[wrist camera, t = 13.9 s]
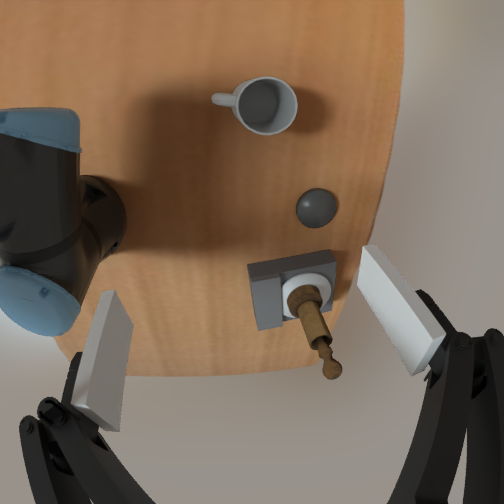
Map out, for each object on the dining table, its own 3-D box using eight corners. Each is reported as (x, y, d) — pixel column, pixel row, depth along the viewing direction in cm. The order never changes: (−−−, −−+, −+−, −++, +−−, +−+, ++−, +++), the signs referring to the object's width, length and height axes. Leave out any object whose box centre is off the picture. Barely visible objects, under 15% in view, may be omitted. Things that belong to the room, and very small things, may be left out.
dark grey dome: (296, 227, 49) (298, 231, 48) (295, 191, 45) (297, 193, 44) (333, 221, 49) (335, 225, 48) (334, 186, 45) (336, 188, 44)
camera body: (254, 312, 59) (258, 330, 55) (247, 264, 52) (251, 282, 47) (325, 298, 60) (333, 314, 56) (329, 249, 53) (339, 265, 48)
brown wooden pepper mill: (287, 286, 50) (318, 370, 35) (321, 282, 50) (360, 360, 36) (285, 312, 53) (311, 391, 38) (316, 307, 54) (349, 382, 39)
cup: (274, 128, 39) (291, 139, 31) (207, 120, 37) (207, 129, 29) (283, 83, 35) (302, 83, 27) (214, 73, 33) (216, 69, 25)
